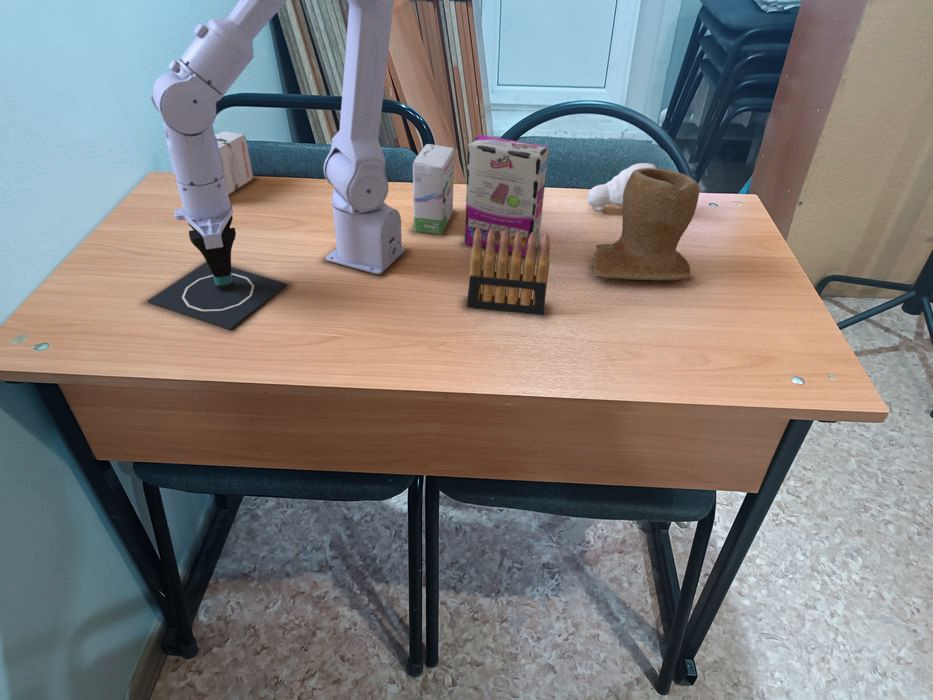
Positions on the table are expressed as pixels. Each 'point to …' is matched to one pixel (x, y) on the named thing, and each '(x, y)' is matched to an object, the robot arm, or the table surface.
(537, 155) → the candy bar box
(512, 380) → the table surface
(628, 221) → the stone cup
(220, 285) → the marker
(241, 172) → the ink box
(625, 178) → the white rounded piece
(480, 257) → the ammunition clip
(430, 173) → the ink box
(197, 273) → the mat
